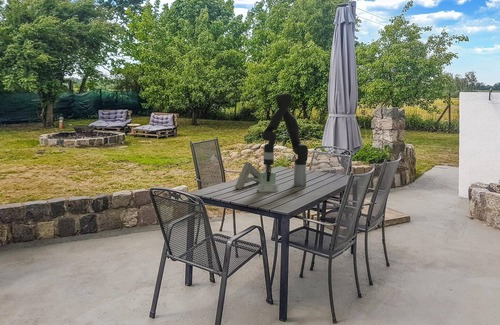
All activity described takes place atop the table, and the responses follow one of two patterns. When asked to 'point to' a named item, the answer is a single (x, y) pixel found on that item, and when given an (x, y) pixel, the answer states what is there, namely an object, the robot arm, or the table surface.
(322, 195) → the table surface
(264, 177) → the tapered block
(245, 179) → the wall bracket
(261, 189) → the rail
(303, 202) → the table surface
